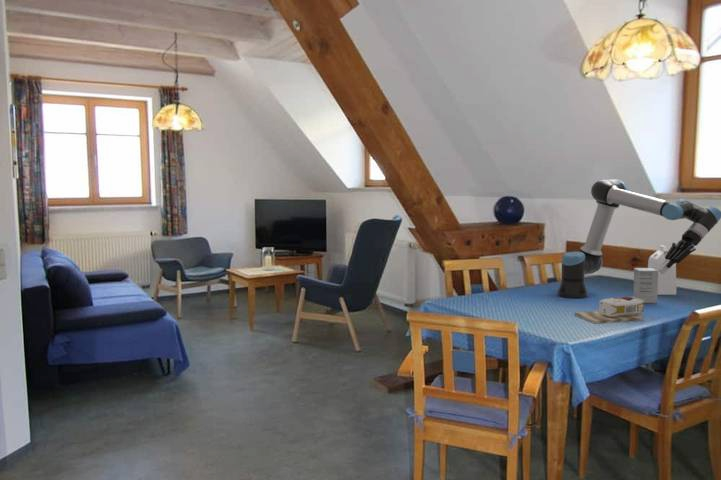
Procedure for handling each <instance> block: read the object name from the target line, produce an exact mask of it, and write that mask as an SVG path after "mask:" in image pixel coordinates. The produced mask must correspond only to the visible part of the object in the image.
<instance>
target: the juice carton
mask: <svg viewBox="0 0 721 480" xmlns="http://www.w3.org/2000/svg"><path fill="white" fill-rule="evenodd" d="M598 303H599V305H598V311H599V314H603V315H606V316H609V317H622V316H632V315H638V316H640V315H641V314H645V303H644V300H642V299H637V298H634V297H633V296H623V297H611V298H604V299H601V300H599V301H598Z"/></svg>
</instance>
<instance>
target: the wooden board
mask: <svg viewBox="0 0 721 480" xmlns="http://www.w3.org/2000/svg"><path fill="white" fill-rule="evenodd" d="M576 315H577V316H576ZM574 316H576V317H578V316H579V318H581V319H583V318H584V319H583V320H585V319H586V321H588V320H589V321H588V322H590V321H591V322H590V323H593V322H594V323H593V324H595V323H597V324H607V323H608V322H611V323H621V322H622V323H623V322H637V321H644V320H645V317H644V316H641V315H632V316H622V317H609V316H606V315H603V314H599V310H595V311H580V312H579V311H578V312H577V311H576V312H574ZM608 324H609V323H608Z"/></svg>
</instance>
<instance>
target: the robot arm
mask: <svg viewBox="0 0 721 480" xmlns="http://www.w3.org/2000/svg"><path fill="white" fill-rule="evenodd" d="M590 193H591V197H592V198H593V199H594V200H595V202H596V203H597V207H596V209H595V212H594V216H593V219H592V222H591V224H590V227H589V231H588V234H587V237H586V241H585V243H584V245H582V246H580V248H579V251H569V252H566V253H564V254H562V256H561V280H560V281H561V282H560V284H559V287H558V290H557V295H558V296H559V297H561V298H562V297H563V298H567V299H584V298H587V297H588V289H587V286H586V283H585V275H588V274H589V275H591V274H594V273H596V272H598V271H599V270H600V269H601V268H602V267H603V264H604V263H603V262H604V260H603V259H602V258H603V257H602V256H603V252H602V250H601V249H602V247H603V244H604V242H605V238H606V235H607V233H608V229H609V227H610V223H611V221H612V218H613V216H614V215H613V214H614V211H615V210H617V209H618V208H619V207H620V206H623V207H628V208H631V209H635V210H638V211H642V212H646V213H650V214H653V215H655V216H656V215H657V216H661V217H663V218H665V219H666V220H668V221H669V220H670V221H676V220H683V219H686V220H688V221H690V222H693V223H692V224H691V225H690V226H689V227H688V228H687V229H686V231H684V233H683V234H682V235H681V239H680V240H679V241H678V242H676V243H675V242H672V243H671V247H670V248H669V249H668V251H667V254H666V256H665V259H666V261H665V262H664V263H663V265H662V266H661V267H660V268H659V269H658V270H659V271H660V272H661V273H662V274H665V272H666V271H667V270H668V269H669V268H670V267H671V266H672V265H673V264H675V263H676V264H680V263H681V262H682V261H683V260H684V259H686V257H688V256H689V255H690V254H691V253H693V252H695V251H696V250H697V248H695V247H696V246H698V245H699V243H701V242H702V240H703V239H704V238H705V237H706V235H708V233H710V232H711V230H712V229H713V228H714V227H715V226H716V225H717V224H718V223H719V221H720V220H721V209H719V208H717V207H715V206H712V205H711V206H707V207H706V208H704V207H701V206H699V205H696V204H694V203H692V202H690V201H689V200H686V199H683V198H680V199H678V200H676V201H675V202H673V201H668V200H666V199H665V200H664V199H662V198H658V197H655V196H649V195H646V194H641V193H638V192H635V191H634V192H633V191H629V190H628V187H627V185H626V184H625V183H624V181H622V180H620V179H614V178H613V179H612V178H611V179H599V180H598V181H595V182H594V183H593V185H592V186H591V190H590Z"/></svg>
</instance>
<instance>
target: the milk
mask: <svg viewBox="0 0 721 480" xmlns="http://www.w3.org/2000/svg"><path fill="white" fill-rule="evenodd" d="M667 253H668V251H667V246H666V245H662V244H659V246H658V250H656V251H655V252H654V253H652V254H651V255H650V256H649V258H648V261H647V268H653V269H655V270H657V271H658V289H657V296H658V295H661V296H662V295H663V296H670V295H671V296H677V263H675V264H673V265H672V266H671V267H670V268H669V269H668V270H667V271H666V272H665V274H662V273H661V272H660V271H659V270H658V269H659V268H660V267H661V266H662V265H663V263H664V262H665V261H666V259H665V256H666V254H667Z"/></svg>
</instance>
